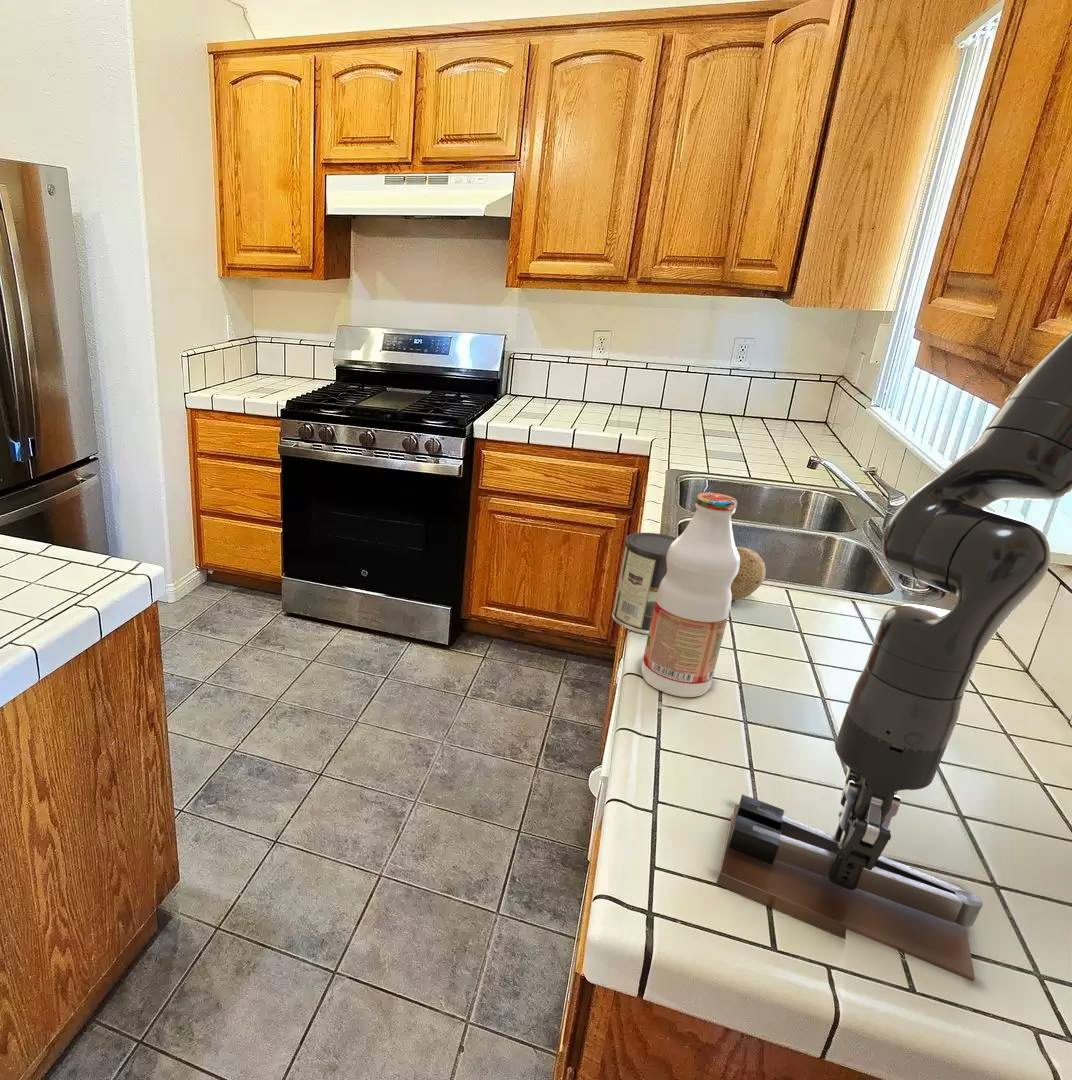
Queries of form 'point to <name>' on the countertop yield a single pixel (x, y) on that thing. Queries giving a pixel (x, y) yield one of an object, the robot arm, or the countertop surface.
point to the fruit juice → (693, 601)
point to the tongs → (815, 851)
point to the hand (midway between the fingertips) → (841, 869)
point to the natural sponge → (747, 574)
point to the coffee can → (640, 580)
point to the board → (846, 909)
